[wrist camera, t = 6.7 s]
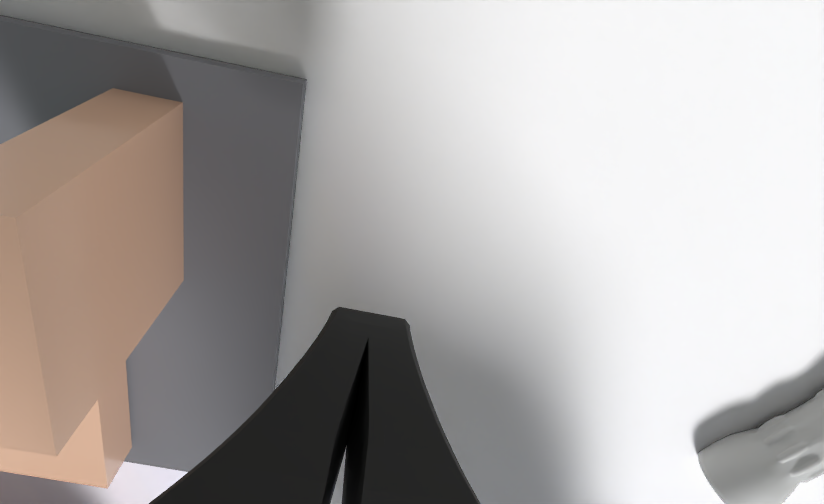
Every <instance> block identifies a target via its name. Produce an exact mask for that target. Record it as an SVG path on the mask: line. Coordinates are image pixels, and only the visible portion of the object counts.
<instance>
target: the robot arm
mask: <svg viewBox="0 0 824 504" xmlns="http://www.w3.org/2000/svg"><path fill="white" fill-rule="evenodd" d="M346 445H347V447H346ZM345 449H346V459H345V471H344V484H343V496H342V504H480V502H479V500H478V499H477V497H476V495H475V493H474V491H473V490H472V488H471V486H470V484H469V482H468V481H467V479H466V477H465V475H464V473H463V471H462V469H461V467H460V465H459V463H458V461H457V459H456V457H455V455H454V453H453V451H452V449H451V447H450V444H449V442H448V440H447V438H446V436H445V433H444V431H443V429H442V427H441V424H440V422H439V420H438V417H437V415H436V412H435V410H434V407H433V404H432V402H431V399H430V396H429V394H428V391H427V389H426V386H425V383H424V380H423V377H422V374H421V371H420V368H419V364H418V361H417V358H416V354H415V350H414V347H413V342H412V338H411V333H410V325H409V324H408V323H407V321H406V320H405V319H401V318H396V317H391V316H385V315H380V314H374V313H369V312H363V311H358V310H353V309H347V308H342V307H339V308H337V309H335V310H333V311H332V313H331V315H330V317H329V319H328V321H327V322H326V324H325V326H324V328H323V329H322V331H321V332H320V334H319V335H318V337H317V338H316V340H315V341H314V342H313V344H312V345H311V347H310V348H309V349H308V351H307V352H306V353H305V355H304V356H303V357H302V358H301V360H300V361H299V362H298V363H297V365H296V366H295V367H294V368H293V370H292V371H291V372H290V373H289V375H288V376H287V377H286V378H285V379H284V380H283V382H282V383H281V384H280V385H279V386H278V387H277V388H276V389H275V390H274V392H273V393H272V394H271V395H270V396H269V397H268V398H267V399H266V400H265V401H264V402H263V403H262V404H261V406H260V407H259V408H258V409H257V410H256V411H255V412H254V413H253V414H252V415H251V416H250V417H249V418H248V419H247V420H246V421H245V422H244V423H243V424H242V425H241V426H240V427H239V428H238V429H237V430H236V431H235V432H234V433H233V434H232V435H230V436H229V437H228V438H227V439H226V440H225V441H224V442H223V443H222V444H221V445H220V446H218V447H217V448H216V449H215V450H214V451H213V452H212V453H211V454H209V455H208V456H207V457H206V458H205V459H204V460H202V461H201V462H200V463H199V464H198V465H196V466H195V467H194V468H193V469H192V470H190V471H189V472H188V473H187V474H186V475H184V476H183V477H182V478H181V479H179V480H178V481H177V482H176V483H175V484H173V485H172V486H171V487H170V488H168V489H167V490H166V491H164V492H163V493H162V494H161V495H159V496H158V497H157V498H155V499H154V500H153V501H151V502H150V503H149V504H330V502H331V498H332V495H333V491H334V488H335V484H336V481H337V477H338V474H339V470H340V466H341V463H342V459H343V456H344V452H345Z"/></svg>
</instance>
